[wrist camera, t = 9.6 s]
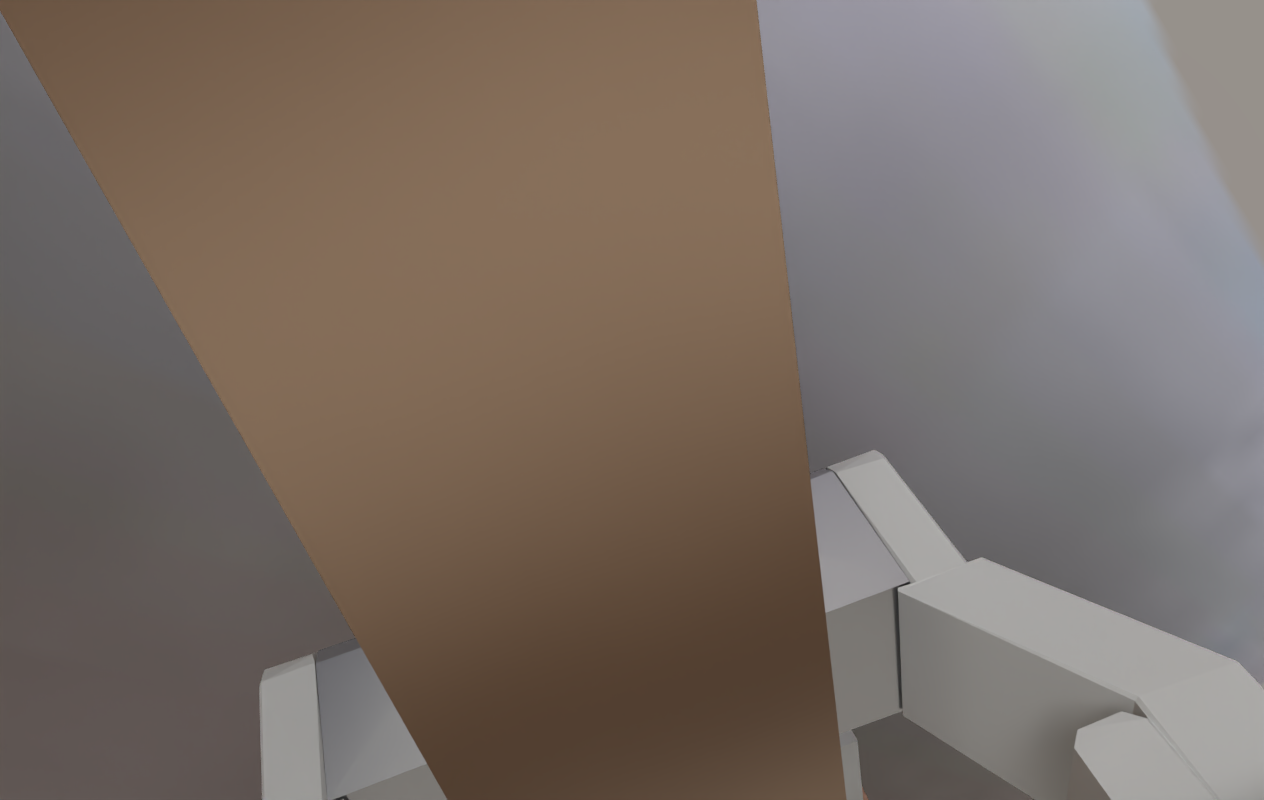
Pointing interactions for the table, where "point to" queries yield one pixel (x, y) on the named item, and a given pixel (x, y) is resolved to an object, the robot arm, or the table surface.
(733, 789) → the turner
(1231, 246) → the table surface
